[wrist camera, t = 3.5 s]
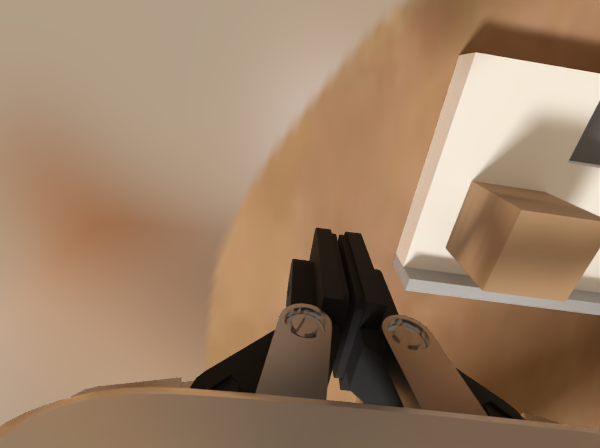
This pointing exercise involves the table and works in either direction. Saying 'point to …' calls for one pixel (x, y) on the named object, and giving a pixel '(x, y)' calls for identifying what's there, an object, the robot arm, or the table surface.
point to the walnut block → (523, 241)
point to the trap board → (504, 165)
